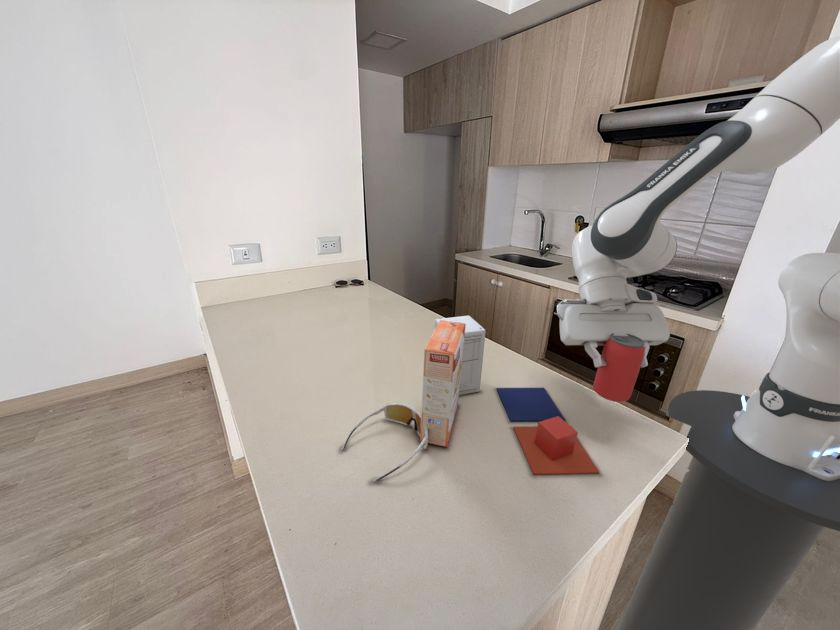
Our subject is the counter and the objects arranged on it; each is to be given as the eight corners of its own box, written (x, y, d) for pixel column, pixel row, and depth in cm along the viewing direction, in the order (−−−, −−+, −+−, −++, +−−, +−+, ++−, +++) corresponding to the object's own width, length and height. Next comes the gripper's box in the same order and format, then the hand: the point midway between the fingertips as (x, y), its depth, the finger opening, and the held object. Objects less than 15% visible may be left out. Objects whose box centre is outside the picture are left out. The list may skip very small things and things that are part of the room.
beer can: (590, 381, 71) (604, 328, 66) (625, 387, 69) (642, 334, 64) (594, 399, 65) (611, 343, 60) (633, 407, 63) (653, 350, 59)
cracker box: (449, 449, 66) (456, 353, 58) (418, 442, 67) (421, 348, 59) (459, 405, 78) (467, 321, 70) (434, 400, 79) (438, 318, 71)
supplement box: (464, 372, 91) (470, 314, 85) (480, 392, 83) (487, 329, 77) (431, 377, 88) (433, 318, 82) (444, 398, 80) (448, 334, 74)
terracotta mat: (568, 427, 72) (569, 426, 72) (599, 473, 61) (599, 472, 61) (513, 428, 72) (513, 426, 71) (533, 474, 60) (533, 473, 60)
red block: (553, 435, 69) (558, 415, 67) (572, 453, 65) (578, 432, 63) (534, 442, 67) (538, 421, 65) (552, 460, 63) (557, 439, 61)
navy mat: (543, 389, 85) (544, 387, 85) (564, 421, 74) (565, 419, 74) (496, 389, 84) (496, 387, 84) (510, 421, 73) (510, 420, 73)
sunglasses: (442, 444, 67) (441, 425, 64) (382, 497, 58) (378, 478, 55) (395, 409, 76) (392, 392, 73) (337, 451, 67) (332, 433, 65)
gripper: (562, 292, 66) (575, 362, 60) (664, 293, 67) (686, 362, 61) (548, 305, 71) (560, 370, 66) (642, 306, 72) (661, 370, 67)
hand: (621, 366), depth 64 cm, fingers closed on beer can, 6 cm apart
